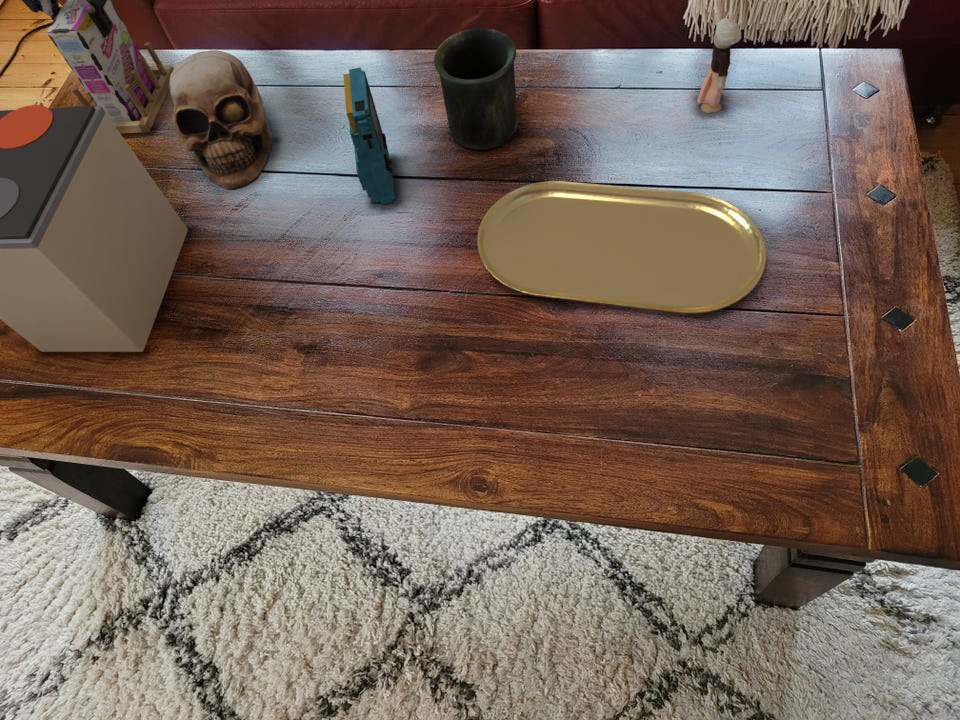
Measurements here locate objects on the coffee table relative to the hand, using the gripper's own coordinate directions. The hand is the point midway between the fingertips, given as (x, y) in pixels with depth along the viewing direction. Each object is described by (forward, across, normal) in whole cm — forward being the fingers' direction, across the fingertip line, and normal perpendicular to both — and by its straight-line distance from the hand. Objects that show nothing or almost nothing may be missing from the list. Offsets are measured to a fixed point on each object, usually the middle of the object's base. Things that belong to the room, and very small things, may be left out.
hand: (90, 33), depth 101 cm
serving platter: (+13, -76, +33) cm, 84 cm away
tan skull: (+13, -20, +11) cm, 26 cm away
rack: (+12, 0, 0) cm, 12 cm away
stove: (+12, -10, +37) cm, 41 cm away
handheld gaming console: (+13, -44, +20) cm, 50 cm away
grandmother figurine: (+13, -90, +7) cm, 91 cm away
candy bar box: (+13, 0, 0) cm, 13 cm away
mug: (+13, -58, +8) cm, 60 cm away
